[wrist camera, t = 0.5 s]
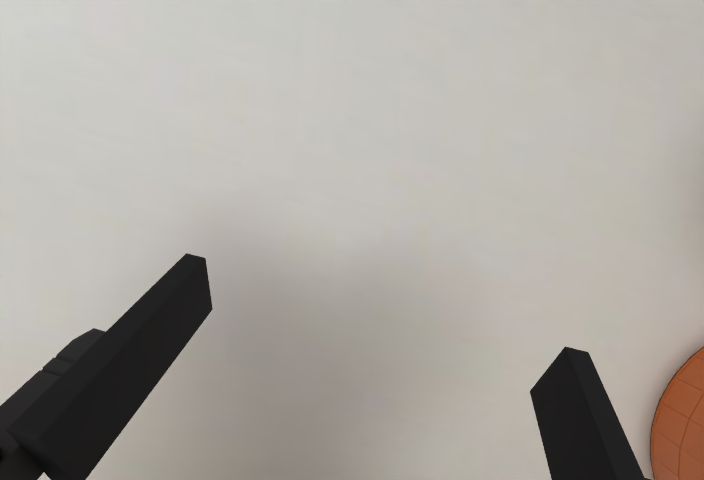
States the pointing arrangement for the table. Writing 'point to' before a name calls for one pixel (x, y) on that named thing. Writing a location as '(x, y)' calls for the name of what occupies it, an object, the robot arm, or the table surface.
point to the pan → (680, 425)
